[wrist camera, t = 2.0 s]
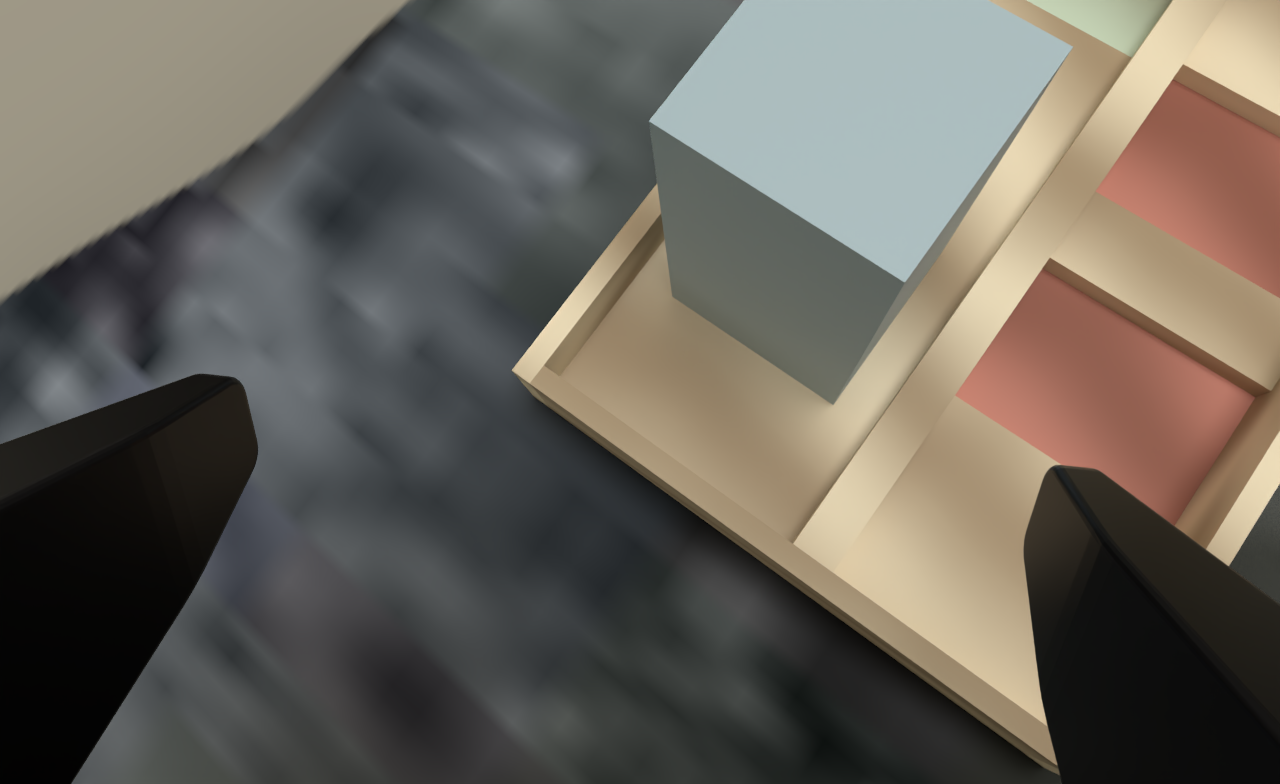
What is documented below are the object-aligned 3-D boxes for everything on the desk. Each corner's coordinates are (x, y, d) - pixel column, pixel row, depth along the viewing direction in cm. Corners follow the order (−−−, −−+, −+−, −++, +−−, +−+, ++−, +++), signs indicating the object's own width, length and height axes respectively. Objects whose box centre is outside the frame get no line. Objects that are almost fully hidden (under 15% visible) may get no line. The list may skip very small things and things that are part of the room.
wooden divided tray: (1044, 767, 20) (1090, 790, 17) (533, 396, 22) (512, 370, 20) (1499, 40, 22) (1594, -29, 20) (998, -208, 25) (1028, -295, 23)
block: (833, 405, 21) (905, 282, 13) (672, 296, 22) (649, 120, 14) (942, 251, 21) (1073, 47, 14) (781, 152, 22) (818, -93, 14)
